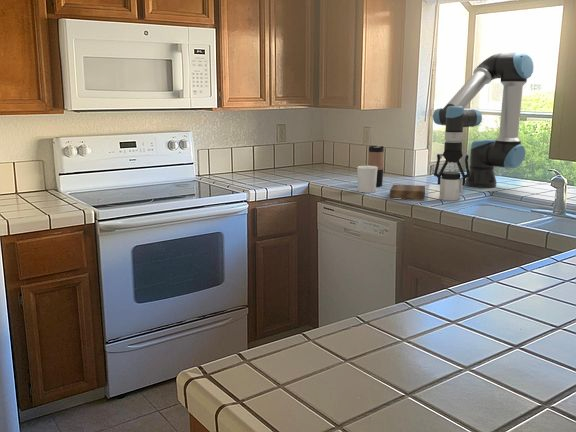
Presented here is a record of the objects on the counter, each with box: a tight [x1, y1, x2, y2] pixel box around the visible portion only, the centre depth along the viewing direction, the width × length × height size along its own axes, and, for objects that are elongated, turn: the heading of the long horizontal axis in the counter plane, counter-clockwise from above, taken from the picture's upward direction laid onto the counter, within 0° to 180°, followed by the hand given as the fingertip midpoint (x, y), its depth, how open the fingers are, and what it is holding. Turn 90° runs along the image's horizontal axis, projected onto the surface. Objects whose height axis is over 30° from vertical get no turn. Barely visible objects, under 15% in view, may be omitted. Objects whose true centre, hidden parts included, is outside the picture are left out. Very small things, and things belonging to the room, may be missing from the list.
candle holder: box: [356, 165, 378, 194], centre depth 287 cm, size 10×10×12 cm
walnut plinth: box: [389, 184, 426, 201], centre depth 275 cm, size 15×15×4 cm
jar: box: [438, 171, 461, 202], centre depth 267 cm, size 9×8×12 cm
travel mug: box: [367, 145, 385, 188], centre depth 301 cm, size 8×8×20 cm
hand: (450, 191), depth 268 cm, fingers closed on jar, 8 cm apart
